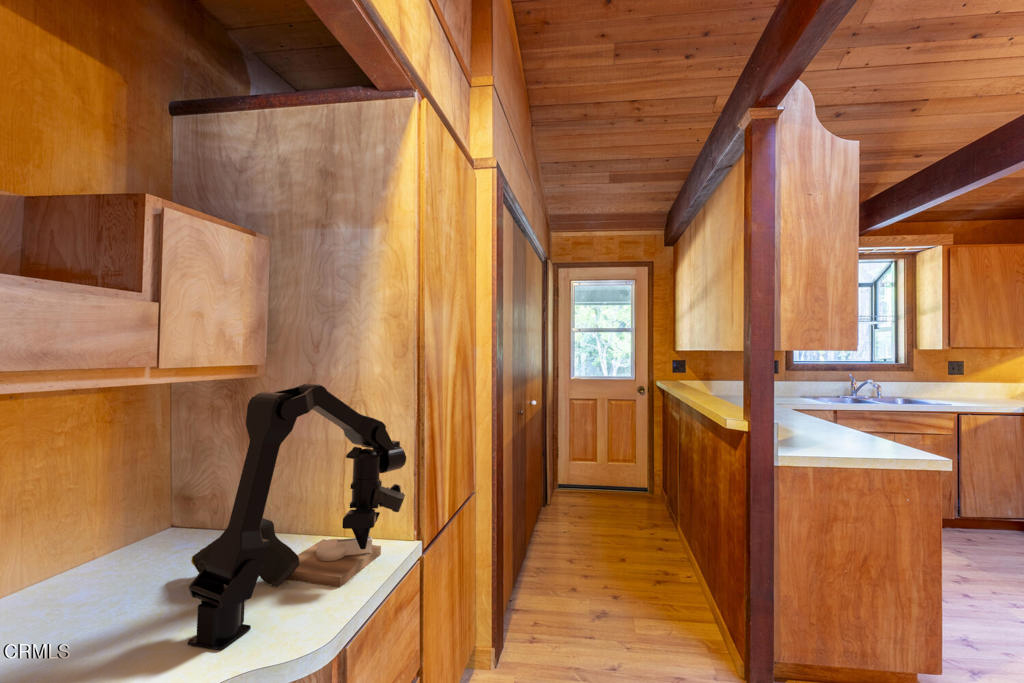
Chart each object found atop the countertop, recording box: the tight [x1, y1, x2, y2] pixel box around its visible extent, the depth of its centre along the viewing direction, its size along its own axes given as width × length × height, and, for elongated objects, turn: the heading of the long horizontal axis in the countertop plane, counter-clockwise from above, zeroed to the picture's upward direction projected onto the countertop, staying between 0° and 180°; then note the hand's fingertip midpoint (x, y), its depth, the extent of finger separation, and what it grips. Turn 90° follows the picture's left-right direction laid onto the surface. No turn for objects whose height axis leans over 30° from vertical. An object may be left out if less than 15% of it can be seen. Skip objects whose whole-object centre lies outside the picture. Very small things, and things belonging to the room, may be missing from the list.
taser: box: [190, 517, 300, 588], centre depth 100 cm, size 4×18×15 cm
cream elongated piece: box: [316, 536, 373, 561], centre depth 109 cm, size 12×6×3 cm, turn 110°
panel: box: [286, 539, 382, 588], centre depth 108 cm, size 17×15×2 cm
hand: (363, 548), depth 108 cm, fingers closed
